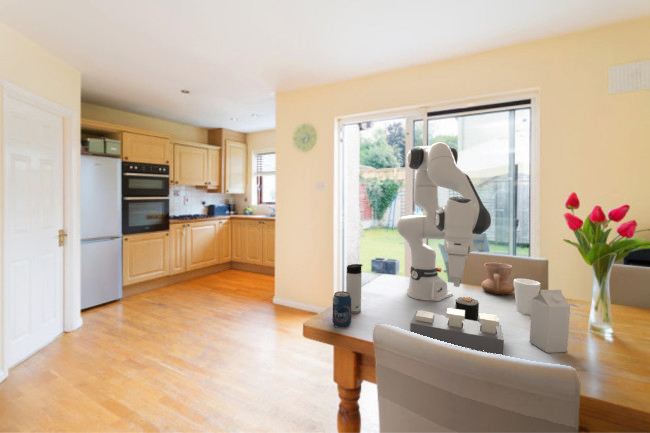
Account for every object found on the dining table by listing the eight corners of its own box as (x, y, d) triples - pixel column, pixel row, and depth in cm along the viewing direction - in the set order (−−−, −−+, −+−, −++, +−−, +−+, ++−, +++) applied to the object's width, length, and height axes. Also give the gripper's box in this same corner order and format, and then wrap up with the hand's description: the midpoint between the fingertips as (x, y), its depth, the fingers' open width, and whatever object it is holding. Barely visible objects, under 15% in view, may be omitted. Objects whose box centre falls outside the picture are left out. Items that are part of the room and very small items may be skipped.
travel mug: (361, 314, 126) (361, 266, 124) (345, 313, 127) (345, 265, 125) (362, 309, 132) (363, 263, 130) (347, 307, 133) (347, 262, 132)
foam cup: (512, 306, 136) (513, 277, 135) (537, 310, 132) (539, 280, 131) (512, 313, 128) (514, 282, 127) (539, 317, 123) (541, 286, 122)
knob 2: (478, 334, 99) (479, 318, 99) (478, 327, 105) (479, 312, 104) (498, 338, 97) (499, 321, 97) (497, 331, 102) (498, 315, 102)
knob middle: (445, 328, 104) (446, 313, 103) (447, 322, 109) (447, 307, 108) (463, 331, 101) (464, 316, 101) (464, 325, 106) (465, 310, 106)
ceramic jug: (484, 285, 167) (484, 260, 166) (515, 290, 159) (516, 263, 157) (477, 294, 153) (478, 266, 152) (511, 300, 144) (512, 271, 143)
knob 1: (415, 330, 108) (415, 315, 108) (417, 324, 113) (418, 310, 113) (431, 333, 106) (432, 318, 106) (433, 327, 111) (434, 312, 111)
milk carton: (529, 342, 103) (532, 286, 101) (549, 341, 103) (552, 286, 102) (546, 353, 96) (549, 293, 94) (567, 352, 96) (571, 293, 95)
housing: (409, 336, 106) (410, 322, 106) (415, 323, 117) (416, 311, 117) (503, 355, 94) (504, 340, 94) (500, 339, 105) (500, 325, 104)
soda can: (334, 329, 112) (334, 297, 111) (331, 321, 118) (331, 291, 118) (353, 328, 113) (353, 296, 112) (348, 320, 119) (348, 290, 119)
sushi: (480, 318, 123) (481, 298, 122) (473, 324, 117) (473, 303, 116) (460, 312, 128) (460, 294, 128) (451, 318, 123) (452, 298, 122)
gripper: (450, 240, 114) (449, 277, 115) (445, 249, 95) (444, 292, 96) (469, 241, 111) (467, 279, 112) (468, 250, 93) (466, 295, 94)
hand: (456, 285), depth 104 cm, fingers closed
